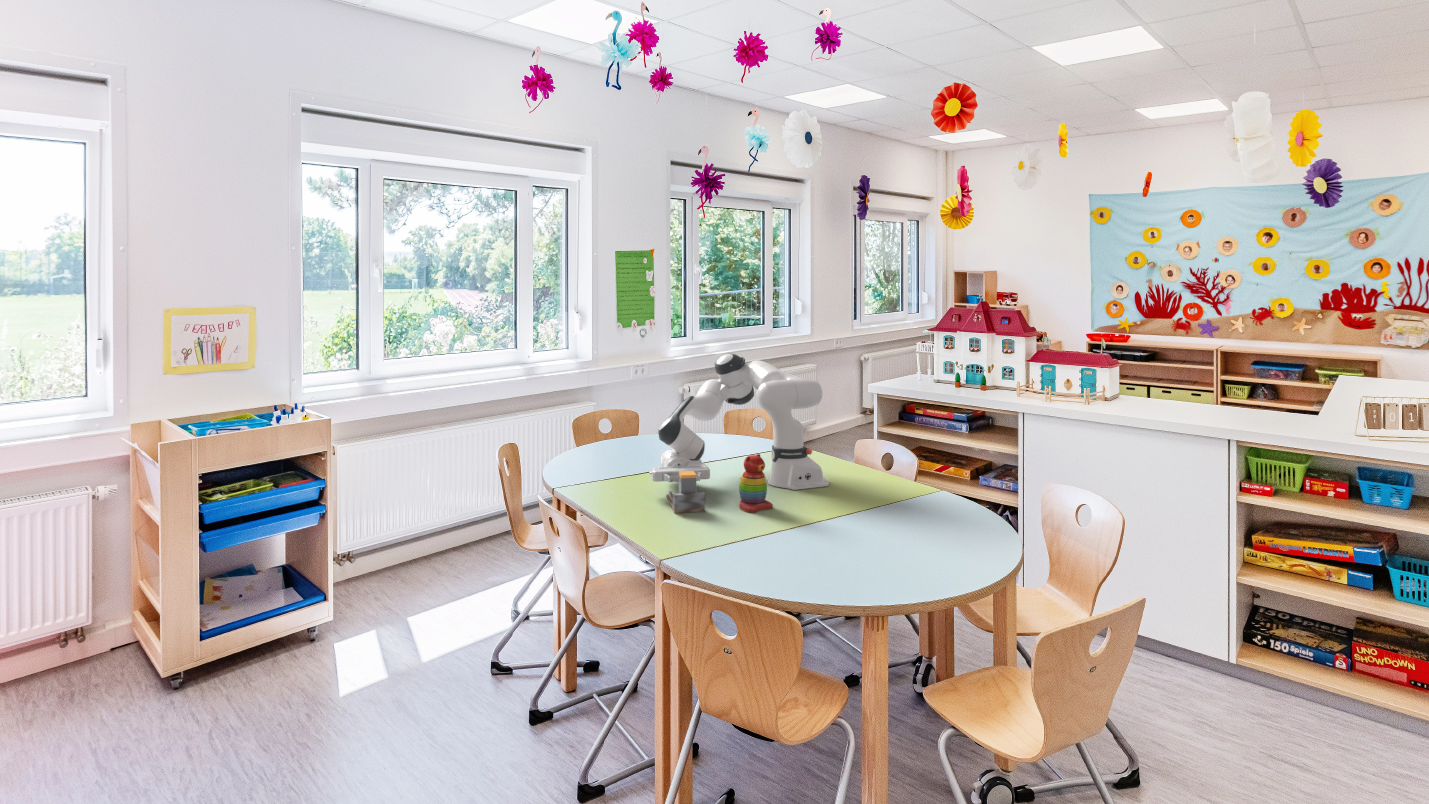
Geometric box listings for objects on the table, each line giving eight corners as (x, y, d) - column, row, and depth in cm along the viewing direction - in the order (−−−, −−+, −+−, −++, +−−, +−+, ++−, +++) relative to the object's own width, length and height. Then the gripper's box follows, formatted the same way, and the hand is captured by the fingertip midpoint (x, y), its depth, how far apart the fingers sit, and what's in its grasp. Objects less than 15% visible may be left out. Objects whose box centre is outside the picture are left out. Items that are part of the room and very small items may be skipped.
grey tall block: (693, 502, 256) (693, 470, 254) (696, 507, 252) (696, 474, 250) (678, 503, 255) (678, 471, 253) (681, 507, 251) (681, 475, 249)
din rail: (694, 495, 268) (694, 479, 267) (704, 511, 250) (704, 493, 249) (666, 497, 266) (666, 480, 265) (674, 513, 248) (674, 495, 247)
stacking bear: (750, 513, 249) (751, 460, 246) (731, 506, 257) (732, 454, 254) (775, 508, 255) (776, 456, 252) (756, 500, 263) (757, 450, 260)
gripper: (648, 461, 269) (653, 471, 256) (705, 459, 274) (713, 468, 260) (648, 479, 270) (653, 489, 257) (705, 476, 275) (713, 486, 261)
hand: (684, 479), depth 259 cm, fingers open, 8 cm apart
